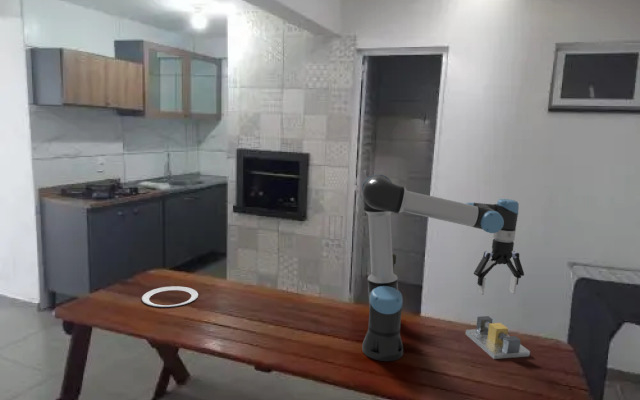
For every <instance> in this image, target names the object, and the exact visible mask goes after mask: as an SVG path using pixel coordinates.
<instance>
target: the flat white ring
mask: <svg viewBox="0 0 640 400" xmlns="http://www.w3.org/2000/svg"><path fill="white" fill-rule="evenodd" d="M167 291H183V292H186V293H189V294H190V295H191V296H190V298H189V299H188V300H186V301H183V302H181V303H177V304H169V305H167V304H165V305H162V304H156V303H153V302H151V300H150V298H151V296H153V295H155V294H157V293H161V292H167ZM198 297H199V293H198V291H197V290H196V289H193V288H191V287H186V286H178V285H177V286H173V285H171V286H163V287H158V288H154V289H151V290H149V291H147V292H146V293H144V294H143V295H142V296H141V301H142V302H143V304H145V305H147V306H150V307H153V308H154V307H156V308H174V307H175V308H176V307H179V306H185V305H187V304H190V303H192V302H194V301H196V299H197V298H198Z"/></svg>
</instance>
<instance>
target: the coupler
mask: <svg viewBox="0 0 640 400" xmlns="http://www.w3.org/2000/svg"><path fill="white" fill-rule="evenodd" d="M508 332H509V328H508V327H507V326H506V325H504V324H503V323H501V322H494V323H493V322H492V323H489V326H488V338H489V339H490V340H491V341H492V342H493V343H495V344H498V343H503V338H504V337H505V336H507V335H508V334H509V333H508Z"/></svg>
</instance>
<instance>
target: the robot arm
mask: <svg viewBox="0 0 640 400" xmlns="http://www.w3.org/2000/svg"><path fill="white" fill-rule="evenodd" d="M361 187H362V190H361V191H362V197H363V200H362V201H363V212H365V213H366V214H367V216H368V217H367V219H368V235H369V237H368V238H369V239H368V240H369V252H370V256H369V257H370V272H371V273H370V274H369V275H368V277H367V286H368V287H367V295H368V304H369V305H368V307H369V310H368V311H369V312H368V313H369V315H368V329H367V331H366V334H365V337H364V339H363V341H362V345H361V346H362V347H361V348H362V349H361V350H362V352H363V354H364V355H365V356H366V357H368V358H370V359H373V360H376V361H380V362H392V361H393V362H394V361H398V360H399V359H401V358H402V357H403V355H404V346H403V345H404V344H403V341H402V337H401V320H402V308H403V303H404V302H403V295H402V293H401V292H400V291H399V287H398V286H399V283H398V282H399V280H398V275H396V274H395V272H394V273H393V257H392V253H393V240H392V237H393V236H392V221H391V220H392V219H391V215H392V213H394V214H401V213H402V212H404V213H407V214H413V215H417V216H422V217H426V218H430V219H435V220H440V221H444V222H449V223H453V224H458V225H460V226H461V225H462V226H467V227H469V228H470V227H471V228H475V229H478V230H483V232H487V233H489V234H493V235H492V236H493V237H492V238H493V239H492V243H491V244H492V245H491V248H492V249H491V252H488V251H484V252H483V256H482V258H481V259H480V262H479V263H478V264H477V266H476V268H475V270H474V271H473V275H475V276H477V285H478V291H477V293H478V294H480V295H484V293H485V287H486V286H485V285H486V280H487V279H486V278H485V277H486V276H487V274H488V273H489V272H490V271H491V270H492V269H493V268H494V267H495V266H497V265H506V266H507V267H508V269H509V271H510V272H511V273H512V275H511V276H510V283H509V289H508V290H509V291H508V292H509V293H511V294H513V295H515V294H516V290H517V286H518V284H519V281H520V280H519V279H521V278H522V277H524V275H525V272H524V269H523V267H522V263H521V260H520V252H518V251H514V246H515V243H514V241H515V237H516V230H517V223H518V216H519V210H520V209H519V202H518V201H516V200H514V199H509V198H508V199H507V198H499V199H498V200H497V203H494V204H492V203H481V202H466V203H465V202H464V203H463V202H460V201H456V200H455V201H454V200H450V199H445V198H443V197H442V198H441V197H437V196H433V195H428V194H423V193H419V192H415V191H410V190H407V188H406V187H405V186H401V185H397V184H395V183H393V181H392V180H391V179H390V178H389V177H388V176H387V175H384V174H373V175H370V176H368V177H367V178H366V179H365V180H364V182H363V184H362V186H361ZM511 259H512V260H513V262H512V260H511ZM513 263H514V264H513ZM514 265H515V266H514Z"/></svg>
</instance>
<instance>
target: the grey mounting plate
mask: <svg viewBox="0 0 640 400" xmlns="http://www.w3.org/2000/svg"><path fill="white" fill-rule="evenodd" d="M489 323H493V318H492V317H490V316H489V315H486V316H481V315H480V316H477V320H476V328H473V329H471V328H470V329H465V335H466V336H467V337H468V338H469V339H470V340H471V341H472V342H474V343H475V344H476V345H477V346H478V347H480V349H482V350H483V351H484V352H485V353H487V354H488V355H489V356H490V357H491V358H492V359H493V360H496V359H497V360H498V359H509V358H510V359H511V358H513V359H514V358H522V357H523V358H525V357H530V356H531V355H530V354H531V351H530V350H529V349H528V348H526V347H525V346H523V345H522V344H521V341H522V340H521V339H520V338H519V337H518V336H516V335H513V336H512V335H509V334H507V336H505V337H504V338H503V343H498V344H495V343H493V342H492V341H491V340H490V339H489V338H488V326H489Z"/></svg>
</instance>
